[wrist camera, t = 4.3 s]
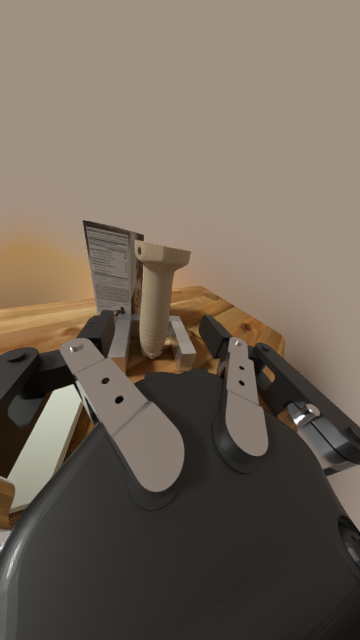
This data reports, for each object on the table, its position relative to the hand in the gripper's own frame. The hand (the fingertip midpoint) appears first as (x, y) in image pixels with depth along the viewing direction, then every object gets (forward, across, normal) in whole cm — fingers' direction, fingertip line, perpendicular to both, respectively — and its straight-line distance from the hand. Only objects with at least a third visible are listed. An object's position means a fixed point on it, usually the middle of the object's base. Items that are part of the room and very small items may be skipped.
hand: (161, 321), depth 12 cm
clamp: (+5, 0, +9) cm, 10 cm away
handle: (+5, 0, +9) cm, 11 cm away
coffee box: (+17, +6, +9) cm, 20 cm away
